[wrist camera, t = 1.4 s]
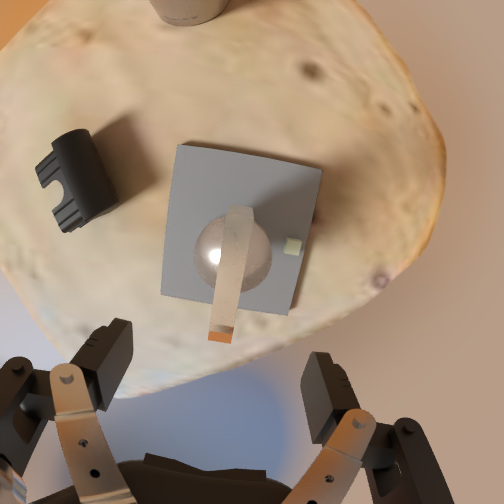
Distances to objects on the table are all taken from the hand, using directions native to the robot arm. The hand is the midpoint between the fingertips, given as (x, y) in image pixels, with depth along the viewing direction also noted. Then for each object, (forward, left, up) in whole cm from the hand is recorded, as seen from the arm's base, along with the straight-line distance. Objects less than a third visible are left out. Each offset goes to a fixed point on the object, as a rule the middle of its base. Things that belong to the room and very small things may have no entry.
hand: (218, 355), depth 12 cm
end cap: (-4, -19, -22) cm, 30 cm away
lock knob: (0, 0, -16) cm, 16 cm away
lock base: (0, 0, -22) cm, 22 cm away
